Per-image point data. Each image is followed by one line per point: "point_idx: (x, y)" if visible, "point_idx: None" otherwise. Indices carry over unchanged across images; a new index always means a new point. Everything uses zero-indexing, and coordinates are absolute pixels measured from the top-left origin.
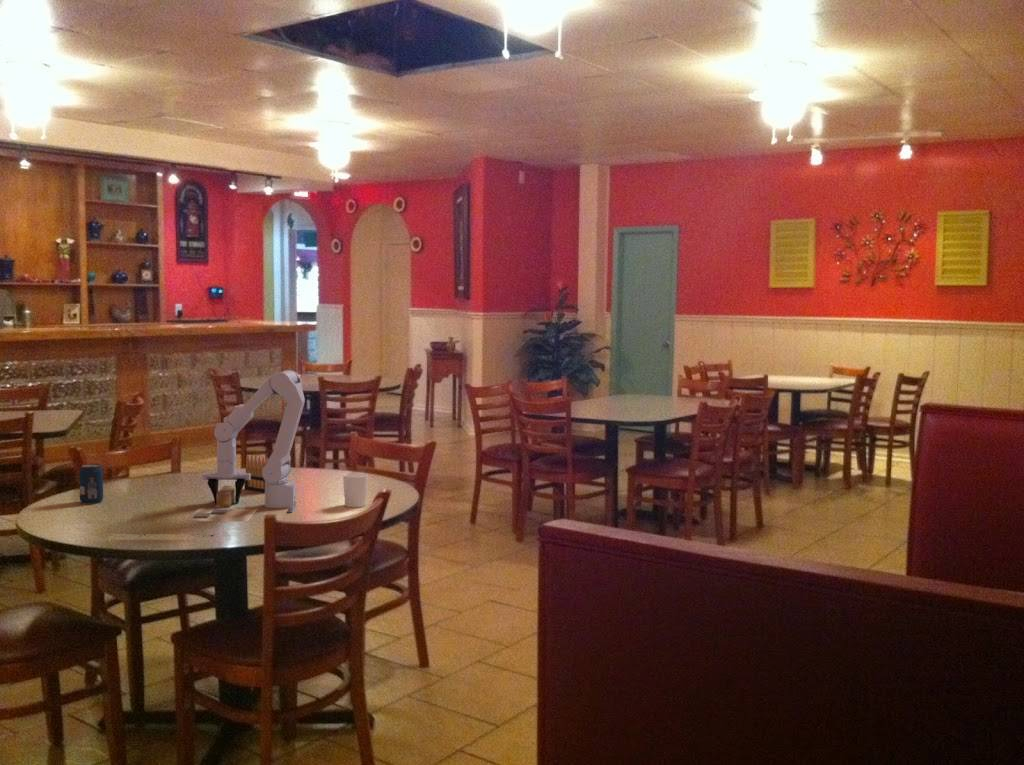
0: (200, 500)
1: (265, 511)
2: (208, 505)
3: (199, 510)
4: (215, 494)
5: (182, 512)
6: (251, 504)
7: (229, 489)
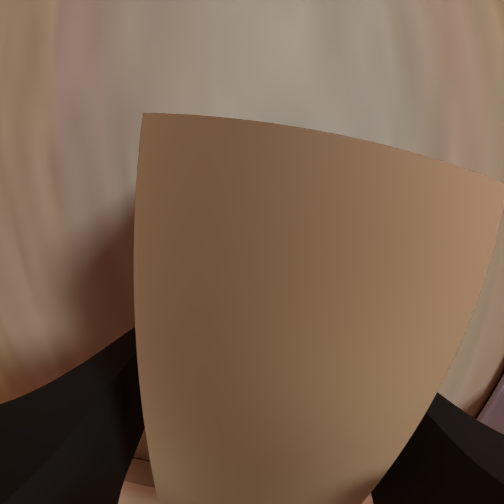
0: (7, 22)
1: None
2: (67, 221)
3: None
4: (123, 470)
5: (5, 398)
6: None
7: (309, 501)
